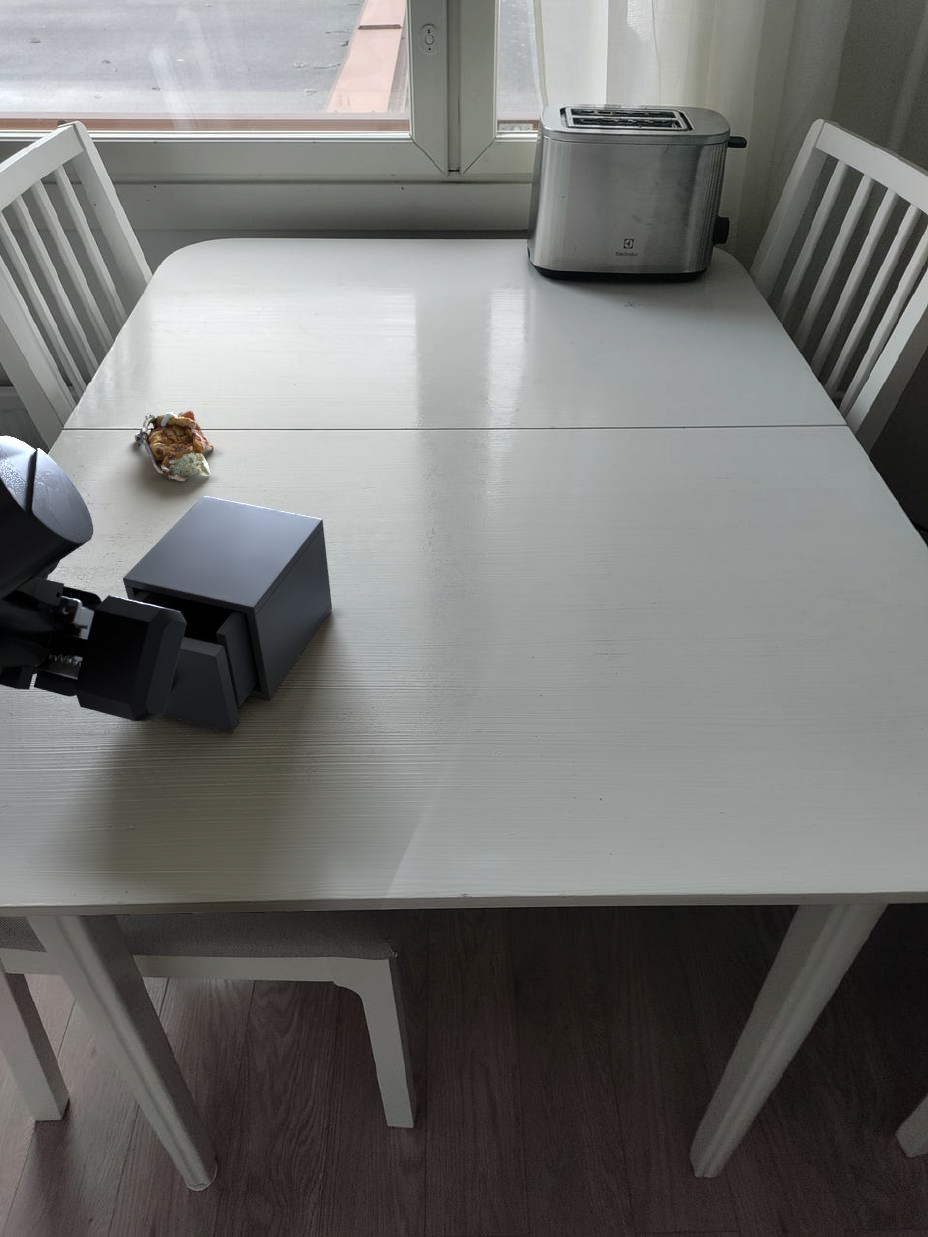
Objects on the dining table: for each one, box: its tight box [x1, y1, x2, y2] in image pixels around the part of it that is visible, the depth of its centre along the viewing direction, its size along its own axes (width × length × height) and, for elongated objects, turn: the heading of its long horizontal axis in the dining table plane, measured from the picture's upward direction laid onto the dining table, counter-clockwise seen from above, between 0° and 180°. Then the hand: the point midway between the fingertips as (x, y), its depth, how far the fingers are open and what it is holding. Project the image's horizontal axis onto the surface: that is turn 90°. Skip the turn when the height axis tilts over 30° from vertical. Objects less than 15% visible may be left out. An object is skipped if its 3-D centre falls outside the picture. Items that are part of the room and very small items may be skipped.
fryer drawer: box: [133, 589, 259, 734], centre depth 73 cm, size 12×10×8 cm
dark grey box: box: [122, 495, 333, 701], centre depth 77 cm, size 12×11×9 cm
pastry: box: [134, 410, 215, 482], centre depth 102 cm, size 7×12×4 cm, turn 32°
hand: (105, 643), depth 61 cm, fingers closed
